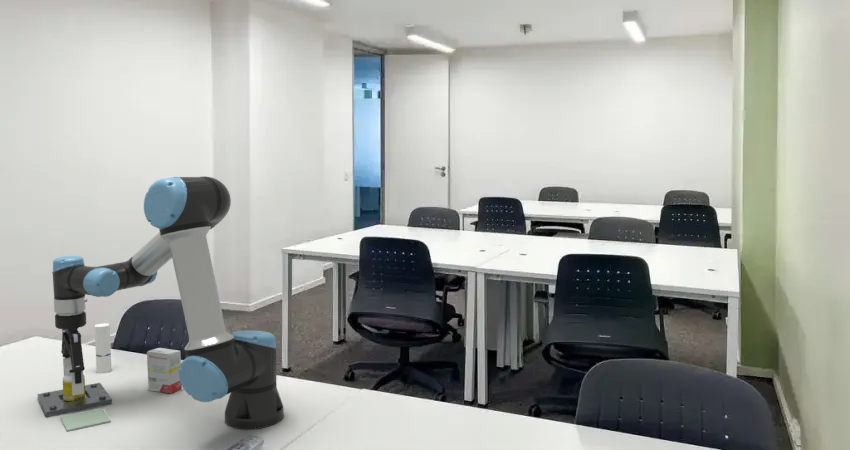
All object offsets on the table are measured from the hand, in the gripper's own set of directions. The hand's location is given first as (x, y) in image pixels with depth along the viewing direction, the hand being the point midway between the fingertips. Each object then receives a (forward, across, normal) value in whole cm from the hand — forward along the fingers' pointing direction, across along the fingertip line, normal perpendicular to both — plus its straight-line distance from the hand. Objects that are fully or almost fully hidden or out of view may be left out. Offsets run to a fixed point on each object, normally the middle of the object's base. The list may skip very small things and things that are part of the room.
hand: (73, 387), depth 179 cm
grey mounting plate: (+4, 0, 0) cm, 4 cm away
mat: (+4, -16, 0) cm, 17 cm away
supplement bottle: (+4, 0, 0) cm, 4 cm away
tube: (+4, +23, -12) cm, 26 cm away
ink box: (+4, -5, -23) cm, 24 cm away
